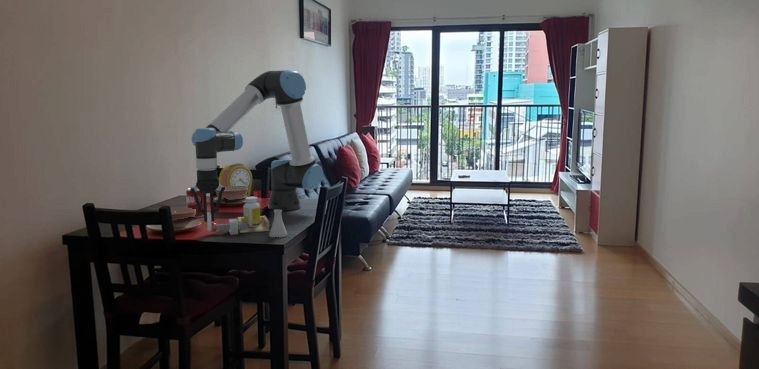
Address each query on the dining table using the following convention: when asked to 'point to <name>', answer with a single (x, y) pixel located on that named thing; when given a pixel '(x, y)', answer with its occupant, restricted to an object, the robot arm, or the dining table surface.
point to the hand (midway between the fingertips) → (209, 229)
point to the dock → (263, 227)
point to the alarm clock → (236, 176)
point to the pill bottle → (251, 212)
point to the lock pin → (226, 226)
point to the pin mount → (233, 226)
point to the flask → (278, 226)
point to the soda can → (192, 203)
